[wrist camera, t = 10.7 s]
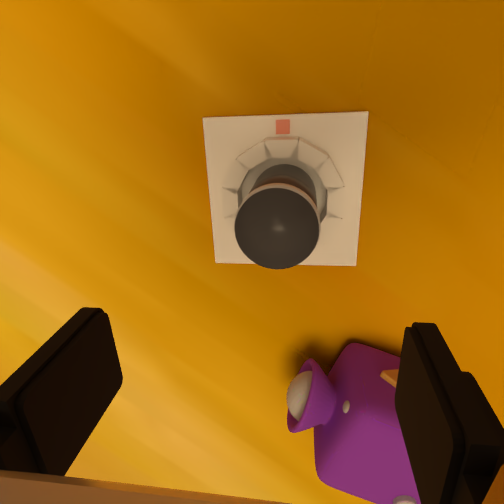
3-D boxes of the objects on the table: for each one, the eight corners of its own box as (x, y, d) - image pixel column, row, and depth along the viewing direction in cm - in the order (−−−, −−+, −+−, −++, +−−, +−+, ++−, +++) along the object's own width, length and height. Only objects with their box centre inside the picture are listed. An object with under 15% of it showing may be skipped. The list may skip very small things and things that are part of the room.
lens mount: (366, 111, 26) (373, 113, 24) (354, 260, 31) (359, 277, 28) (205, 117, 28) (195, 119, 25) (218, 258, 33) (210, 273, 30)
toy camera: (297, 321, 34) (294, 403, 25) (444, 349, 34) (494, 445, 24) (279, 403, 39) (270, 498, 30) (407, 430, 38) (439, 536, 29)
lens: (318, 161, 27) (322, 187, 20) (316, 227, 29) (319, 271, 22) (250, 163, 28) (230, 188, 21) (252, 226, 30) (235, 269, 23)
